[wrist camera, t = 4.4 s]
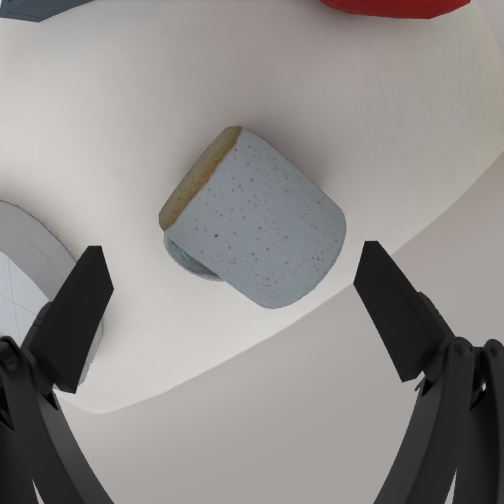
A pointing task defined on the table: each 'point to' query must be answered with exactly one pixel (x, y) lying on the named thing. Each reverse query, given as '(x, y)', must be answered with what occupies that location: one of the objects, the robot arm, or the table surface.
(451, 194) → the table surface
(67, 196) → the table surface
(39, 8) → the tub
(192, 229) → the ceramic mug
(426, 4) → the apple
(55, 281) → the dish
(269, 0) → the table surface
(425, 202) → the table surface
